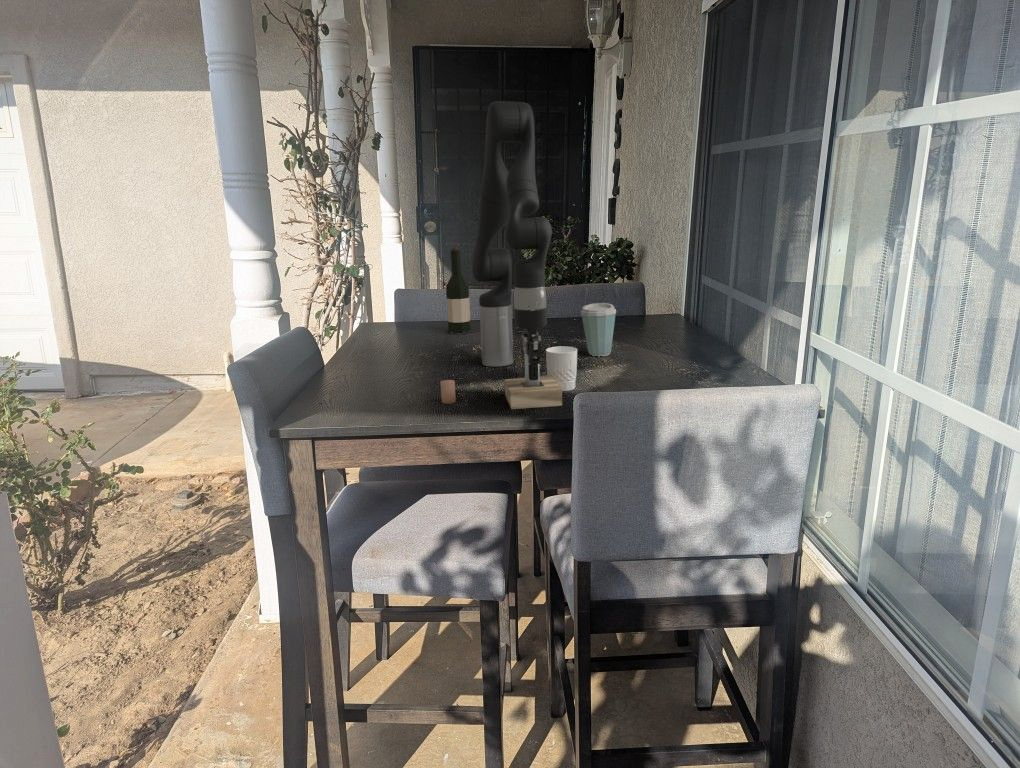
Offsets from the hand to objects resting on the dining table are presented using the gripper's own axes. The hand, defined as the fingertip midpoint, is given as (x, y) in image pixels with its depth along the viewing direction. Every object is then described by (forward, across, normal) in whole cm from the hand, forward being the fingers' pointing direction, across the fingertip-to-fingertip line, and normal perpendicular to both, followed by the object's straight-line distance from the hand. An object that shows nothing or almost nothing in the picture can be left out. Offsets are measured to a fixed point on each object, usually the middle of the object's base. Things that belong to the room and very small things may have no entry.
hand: (532, 377), depth 170 cm
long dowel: (+3, 0, 0) cm, 3 cm away
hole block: (+6, 0, 0) cm, 6 cm away
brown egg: (+6, -4, -20) cm, 21 cm away
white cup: (+6, -9, +9) cm, 14 cm away
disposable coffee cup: (+6, -43, +27) cm, 51 cm away
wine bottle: (+6, -92, -12) cm, 93 cm away
